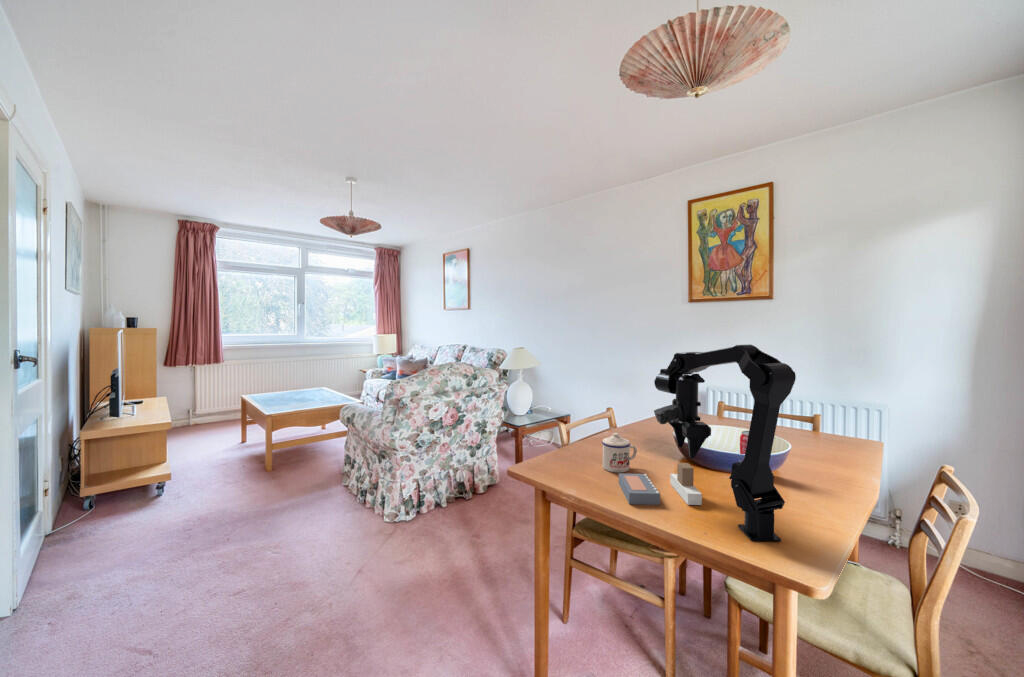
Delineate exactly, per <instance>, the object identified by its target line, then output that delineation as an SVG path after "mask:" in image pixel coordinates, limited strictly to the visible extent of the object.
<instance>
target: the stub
mask: <svg viewBox="0 0 1024 677" xmlns="http://www.w3.org/2000/svg"><path fill="white" fill-rule="evenodd" d="M676 465H677V470H676V471H677V473H670V474H669V475H670V479H669V480H670V482H669V483H670V485H671V486H672V488H673V489H674V490H675V491H676V492H677V494H678V495H679V496H680V498H682V500H683V501H684V502H685V504H686V505H687V506H688V505H689V506H703V500H702V499H703V495H702V494H703V493H702V492H701V491H700V490H699V489H698V488H697V487H696V486H695V485H694V476H695V475H694V474H695V473H694V469H695V468H694V467H693V466H692V465H691V464H690V463H688V462H677V464H676Z"/></svg>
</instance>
